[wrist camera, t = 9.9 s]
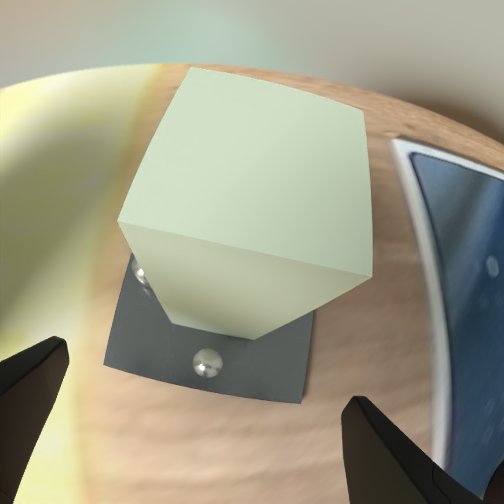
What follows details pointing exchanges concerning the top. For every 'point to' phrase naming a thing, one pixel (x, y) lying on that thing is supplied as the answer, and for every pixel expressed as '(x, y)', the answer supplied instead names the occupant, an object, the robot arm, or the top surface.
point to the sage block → (250, 204)
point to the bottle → (496, 487)
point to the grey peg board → (204, 349)
